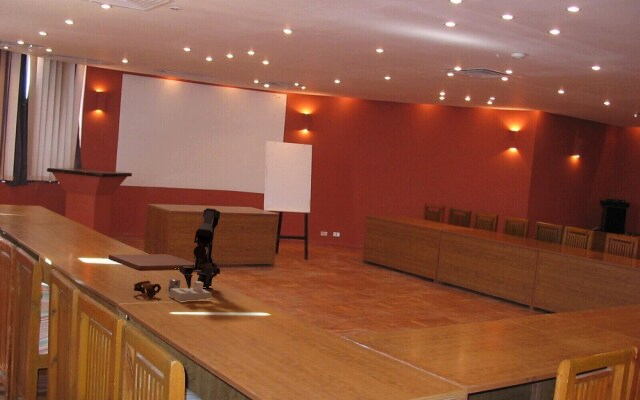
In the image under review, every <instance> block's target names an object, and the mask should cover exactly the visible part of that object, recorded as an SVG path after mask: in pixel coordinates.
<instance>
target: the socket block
mask: <svg viewBox="0 0 640 400" xmlns="http://www.w3.org/2000/svg"><path fill="white" fill-rule="evenodd" d="M212 293H213V292H212V291H208V290H207V289H203V290H202V292H195V291H193V287H190V289H189V288H188V287H184V288H183V287H180V288H174V289H170V293H169V295H168V297H169V296H170V297H173V298H175V299H177V300H179V301H186V300H199V299H207V298H211V299H212ZM170 297H169V298H170Z"/></svg>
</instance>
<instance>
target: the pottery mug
mask: <svg viewBox="0 0 640 400" xmlns="http://www.w3.org/2000/svg"><path fill="white" fill-rule="evenodd" d="M133 286H134V287H133V291H135V292H139V293H141V294H142V298H145V299H154V298H155V296H156V295H157V294H159V293H160V292H161V290H162V287H161V284H159V283H154V284H153V283H151V281H150V280H143V281H139V282H136V283H134V284H133ZM156 288H157V289H156ZM153 297H154V298H153Z"/></svg>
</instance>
